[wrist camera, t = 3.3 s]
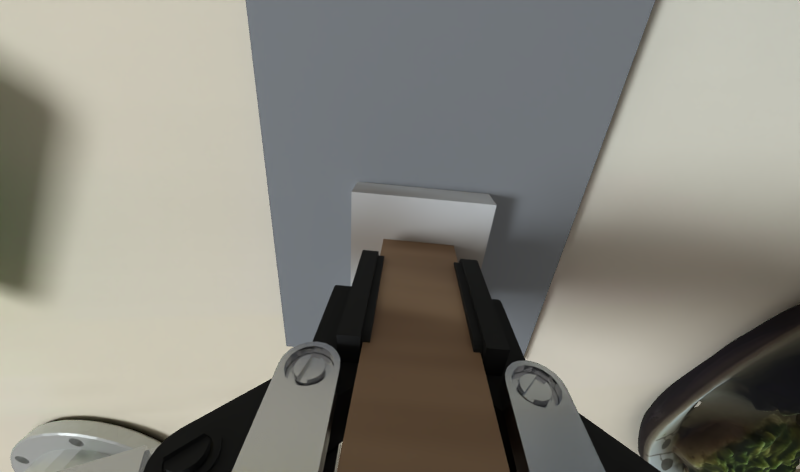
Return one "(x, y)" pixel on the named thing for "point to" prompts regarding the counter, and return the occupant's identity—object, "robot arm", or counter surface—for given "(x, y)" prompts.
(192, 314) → the counter surface
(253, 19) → the mat
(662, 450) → the salad plate
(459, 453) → the wood block on base
